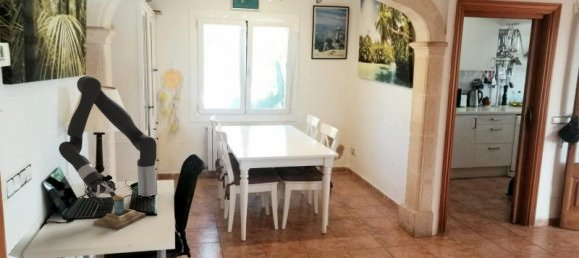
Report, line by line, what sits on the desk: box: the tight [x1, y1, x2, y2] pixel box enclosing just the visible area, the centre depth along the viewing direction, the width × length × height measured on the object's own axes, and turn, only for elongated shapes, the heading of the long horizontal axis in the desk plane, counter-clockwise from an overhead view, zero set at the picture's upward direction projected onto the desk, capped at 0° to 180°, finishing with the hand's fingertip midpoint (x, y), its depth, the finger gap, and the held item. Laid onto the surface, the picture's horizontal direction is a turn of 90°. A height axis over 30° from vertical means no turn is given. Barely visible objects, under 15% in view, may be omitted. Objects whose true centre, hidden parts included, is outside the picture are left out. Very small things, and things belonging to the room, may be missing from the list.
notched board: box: [93, 207, 146, 231], centre depth 209 cm, size 18×14×4 cm
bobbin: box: [111, 194, 126, 216], centre depth 209 cm, size 5×5×10 cm
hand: (109, 202), depth 211 cm, fingers open, 8 cm apart
